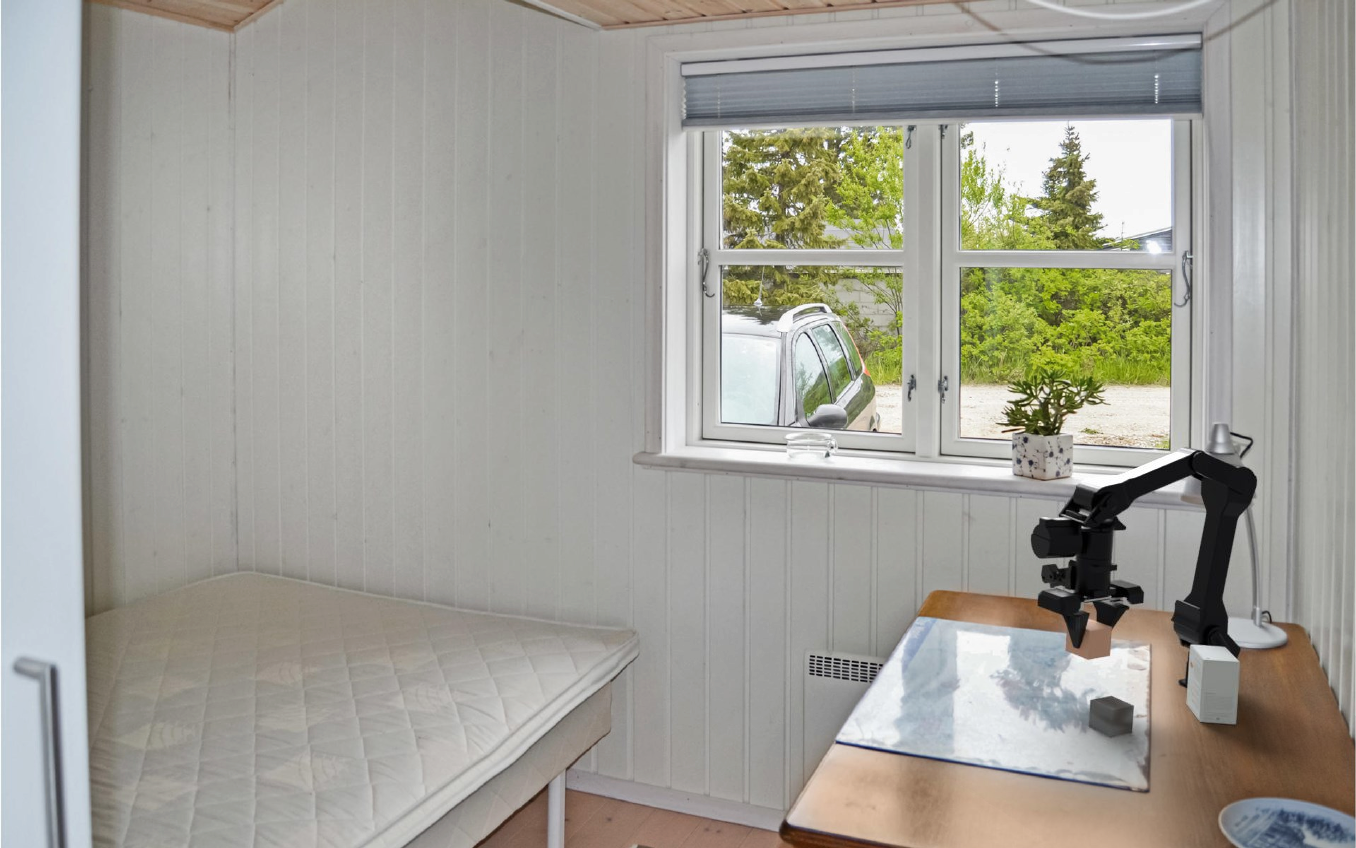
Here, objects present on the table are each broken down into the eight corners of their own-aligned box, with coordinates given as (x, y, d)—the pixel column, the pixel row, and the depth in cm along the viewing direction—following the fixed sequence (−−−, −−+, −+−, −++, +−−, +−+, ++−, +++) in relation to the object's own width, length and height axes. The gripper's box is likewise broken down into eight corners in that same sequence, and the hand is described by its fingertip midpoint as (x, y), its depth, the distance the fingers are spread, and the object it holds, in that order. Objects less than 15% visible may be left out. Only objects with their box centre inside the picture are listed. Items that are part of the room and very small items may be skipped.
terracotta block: (1087, 646, 184) (1089, 618, 183) (1110, 656, 179) (1111, 627, 179) (1065, 650, 182) (1067, 622, 181) (1087, 659, 177) (1089, 630, 176)
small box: (1236, 726, 170) (1241, 662, 168) (1198, 722, 171) (1203, 659, 169) (1221, 707, 177) (1226, 646, 176) (1185, 704, 179) (1189, 643, 177)
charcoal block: (1109, 722, 171) (1111, 695, 170) (1132, 733, 167) (1133, 705, 166) (1088, 727, 169) (1090, 700, 168) (1110, 738, 165) (1112, 710, 164)
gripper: (1098, 540, 189) (1092, 625, 191) (1016, 550, 182) (1011, 638, 184) (1149, 555, 179) (1142, 644, 181) (1065, 565, 172) (1059, 659, 174)
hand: (1088, 646), depth 180 cm, fingers closed on terracotta block, 5 cm apart
